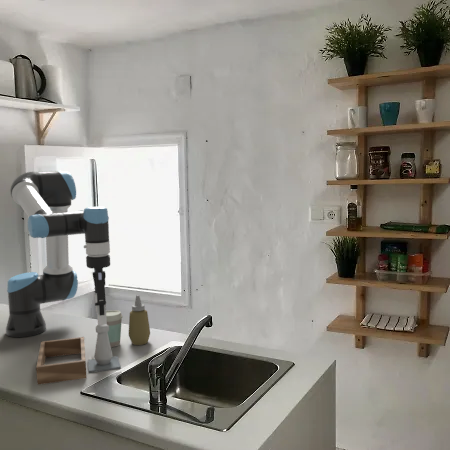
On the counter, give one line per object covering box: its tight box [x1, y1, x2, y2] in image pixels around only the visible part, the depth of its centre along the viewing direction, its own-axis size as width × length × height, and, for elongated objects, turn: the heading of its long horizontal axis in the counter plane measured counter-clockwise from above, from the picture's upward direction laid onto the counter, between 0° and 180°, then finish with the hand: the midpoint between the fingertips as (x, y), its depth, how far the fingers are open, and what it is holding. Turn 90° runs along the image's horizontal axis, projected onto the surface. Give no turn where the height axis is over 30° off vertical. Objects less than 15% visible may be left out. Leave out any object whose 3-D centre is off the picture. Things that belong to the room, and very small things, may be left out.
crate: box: [35, 336, 88, 385], centre depth 165 cm, size 24×14×6 cm, turn 17°
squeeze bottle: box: [128, 294, 151, 346], centre depth 185 cm, size 8×8×18 cm
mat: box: [87, 355, 121, 373], centre depth 166 cm, size 10×10×1 cm
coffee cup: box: [106, 309, 123, 348], centre depth 185 cm, size 8×8×12 cm
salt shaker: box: [94, 324, 113, 365], centre depth 166 cm, size 6×6×13 cm
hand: (101, 318), depth 165 cm, fingers open, 13 cm apart
